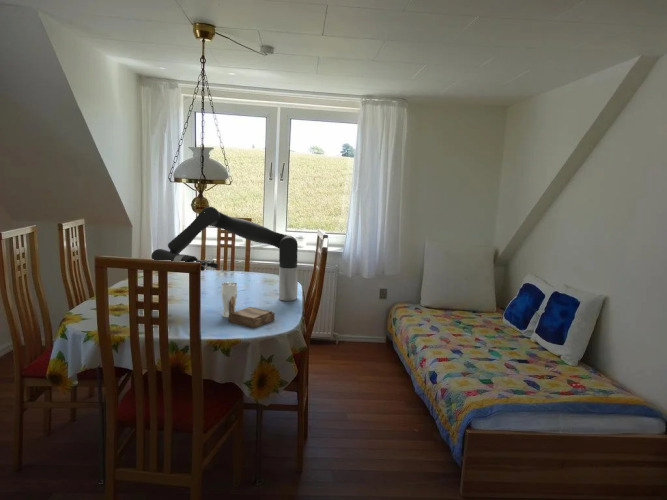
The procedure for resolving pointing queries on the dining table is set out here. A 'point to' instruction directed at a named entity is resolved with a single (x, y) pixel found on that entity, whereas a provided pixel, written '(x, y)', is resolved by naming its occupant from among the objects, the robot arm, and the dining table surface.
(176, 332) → the dining table surface
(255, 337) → the dining table surface
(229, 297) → the beer glass
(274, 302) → the dining table surface
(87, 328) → the dining table surface
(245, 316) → the walnut stand
